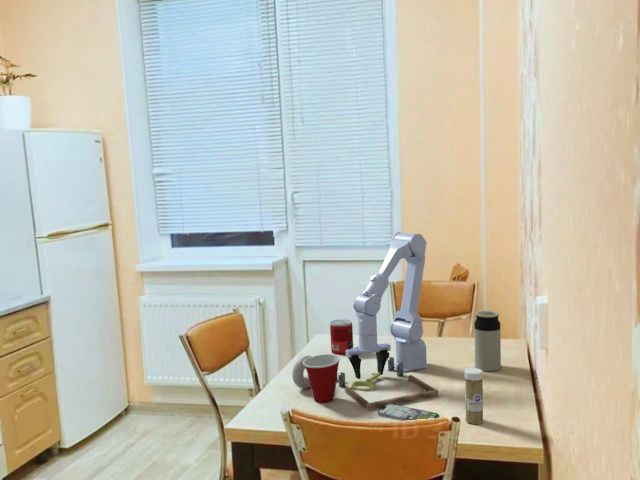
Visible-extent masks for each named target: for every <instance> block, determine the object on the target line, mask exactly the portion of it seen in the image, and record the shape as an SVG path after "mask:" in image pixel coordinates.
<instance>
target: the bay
mask: <svg viewBox="0 0 640 480" xmlns="http://www.w3.org/2000/svg"><path fill="white" fill-rule="evenodd" d="M407 376H408V377H407V381H408V382H410V383H411V384H413V385H415V386H417V387H418V388H420V389H422V390H423V392H417V393H412V394H407V395H402V396H397V397H393V398H392V397H391V398H388V399H382V400H377V401H373V402H369V401H368V400H367V399H366V398H364V397H363V396H361V395H360V394H359V393H357V392H356V391H355V389H354V390H353V388H352V387H350V386H345V387H344V393H345V394H346V395H348V397H350V398H352V399H353V400H354V401H355V402H357V404H359V405H360V406H361V407H363V408H364V409H365V410H366V411H371V410H378V409H381V408H383V407H384V406H385V405H386V404H395V405H401V404H406V403H410V402H411V403H412V402H416V401H422V400H426V399H432V398H435V397H439V391H438V389H436V388H434V387H433V386H431V385H429V384H427V383H425V382H424V381H422V380H421V379H419V378H418V377H415V376H413V375H412V374H411V375H407Z"/></svg>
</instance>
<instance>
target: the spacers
mask: <svg viewBox="0 0 640 480" xmlns="http://www.w3.org/2000/svg"><path fill="white" fill-rule="evenodd" d="M394 363H395V358H394V356H393V357H392V356H389V357H388V359H387V371H389V372H394V371H395V367H394ZM396 376H397V377H403V376H404V372H403V363H402V362H398V363H397V368H396ZM337 381H338V387H339V388H345V387H346V373H345V372H337Z"/></svg>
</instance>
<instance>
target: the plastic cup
mask: <svg viewBox="0 0 640 480" xmlns="http://www.w3.org/2000/svg"><path fill="white" fill-rule="evenodd" d="M340 361H341V357H340V355H338V354H333V353H332V354H330V353H329V354H328V353H327V354H324V353H323V354H318V355H316V354H315V355H313V356H312V357H309V358H307V359H305V360H304V361H303V365H304V366H305V367H306V368H305V371H306V373H307V374H308V377H309V381H310V390H311V393H312V398H313V399H314V402H315V403H321V404H325V403H326V404H327V403H332V401H334V400H335V395H336V387H337V381H338V380H337V377H338V370H339V363H340Z"/></svg>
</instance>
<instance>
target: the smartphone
mask: <svg viewBox="0 0 640 480" xmlns="http://www.w3.org/2000/svg"><path fill="white" fill-rule="evenodd" d="M439 415H440V414H438V413H437V412H433V411H427V410H425V409H424V410H422V409H419V408H415V407H414V408H413V407H408V406H403V405H400V404H397V405H395V404H386V405H385V406H384V407H382V408H379V410H378V411H377V416H379V417H382V418H383V417H384V418H388V419H393V420H399V421H403V420H417V419H428V418H437V419H438V418H439Z"/></svg>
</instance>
